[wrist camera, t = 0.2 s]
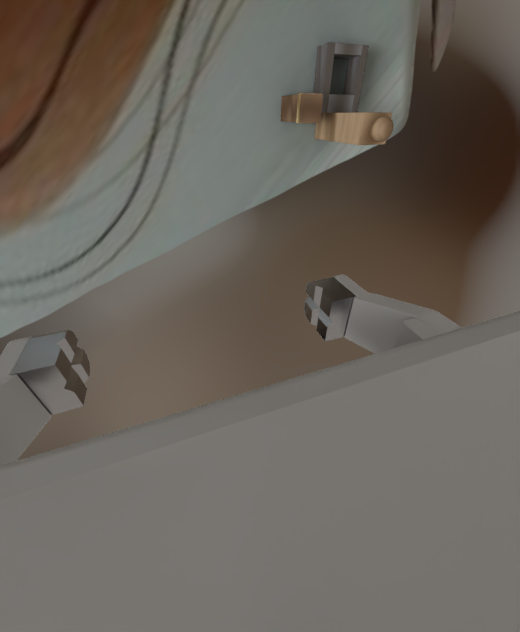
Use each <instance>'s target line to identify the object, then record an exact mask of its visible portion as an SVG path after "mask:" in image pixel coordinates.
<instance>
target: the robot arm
mask: <svg viewBox="0 0 520 632" xmlns="http://www.w3.org/2000/svg"><path fill="white" fill-rule="evenodd" d="M306 293H307V294H308V298H307V299H306V301H305V304H304V310H305V315H306V317H307V319H308V320H309V322H310V323H311V324H313V325H316V326H317V329H316V330H317V332H318V333H319V334H320V335H321V337H322V338H323V339H324V340H325V341H328V340H332V339H336V338H340V337H345V338H346V339H348V340H350V341H352V342H354V343H356V344H358V345H360V346H361V347H363V348H366V349H367V350H369V351H371V352H373V353H375V354H373V355H370V356H367V357H363V358H360V359H357V360H353V361H350V362H347V363H343V364H340V365H337V366H333V367H330V368H326V369H323V370H320V371H316V372H313V373H310V374H307V375H303V376H299V377H296V378H293V379H289V380H286V381H283V382H279V383H276V384H273V385H269V386H266V387H263V388H259V389H256V390H252V391H249V392H246V393H243V394H239V395H236V396H233V397H229V398H226V399H222V400H219V401H216V402H212V403H209V404H206V405H202V406H199V407H196V408H193V409H190V410H186V411H182V412H179V413H176V414H172V415H169V416H166V417H162V418H159V419H156V420H152V421H149V422H146V423H143V424H139V425H135V426H132V427H129V428H125V429H122V430H119V431H115V432H112V433H109V434H106V435H102V436H99V437H96V438H92V439H89V440H85V441H82V442H79V443H75V444H72V445H69V446H65V447H62V448H59V449H55V450H52V451H48V452H45V453H42V454H39V455H35V456H32V457H28V458H25V459H22V460H19V461H16V460H17V459H18V458H19V457H20V456H21V454H22V453H23V452H24V450H25V449H26V448H27V447H28V446H29V444H30V443H31V442H32V441H33V439H34V438H35V437H36V436H37V434H38V433H39V432H40V431H41V430H42V428H43V427H44V426H45V425H46V423H47V422H48V421H49V420H50V419H51V417H52V416H51V415H54V414H57V413H61V412H65V411H68V410H71V409H74V408H78V407H81V406H84V401H85V396H86V391H87V388H86V386H85V385H84V383H85V382H86V380H87V379H88V378H89V376H90V363H89V360H88V357H87V355H86V353H85V351H84V350H83V349H81V348H79V347H77V342H78V339H77V337H76V335H75V334H74V332H72V331H71V330H65V331H60V332H55V333H49V334H43V335H39V336H33V337H27V338H22V339H18V340H13V341H11V342H9V343H8V344H7V346H6V347H5V349H4V351H3V352H2V354H1V356H0V632H520V311H517V312H514V313H510V314H507V315H504V316H500V317H497V318H494V319H490V320H487V321H484V322H480V323H477V324H474V325H470V326H467V327H463V328H461V327H460V326H458V325H457V324H455V323H454V322H452V321H451V320H449V319H448V318H446V317H445V316H443V315H441V314H440V313H439V312H437V311H435V310H431V309H427V308H424V307H420V306H417V305H413V304H410V303H406V302H403V301H399V300H395V299H392V298H388V297H385V296H381V295H377V294H374V293H371V294H369V293H368V292H366V291H365V290H364V289H362V288H361V287H360V286H359V285H357V284H356V283H355V282H353V281H352V280H351V279H350V278H348V277H347V276H346V275H339V276H335V277H331V278H327V279H322V280H317V281H313V282H309V283H308V284H307V287H306Z"/></svg>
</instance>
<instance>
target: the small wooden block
mask: <svg viewBox="0 0 520 632" xmlns="http://www.w3.org/2000/svg"><path fill="white" fill-rule="evenodd" d="M322 101H323V94H315V93H298V94H297V95H289V96H282V106H281V121H285V122H296V123H319V122H320V119H321V110H322Z"/></svg>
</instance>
